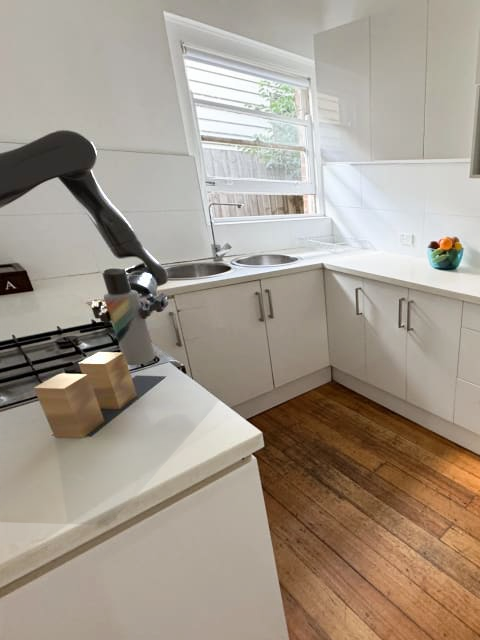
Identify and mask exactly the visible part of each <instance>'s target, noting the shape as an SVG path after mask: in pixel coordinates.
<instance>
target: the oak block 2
mask: <svg viewBox="0 0 480 640" xmlns="http://www.w3.org/2000/svg"><path fill="white" fill-rule="evenodd" d="M78 366H79V369H80V372H81V374H88V376H89V379H90V382H91V385H92V388H93V390H94V393H95V396H96V399H97V401H98V404H99V407H100V409H121V408H122V407H123V406H125V405H126V404H127V403H128V402H130V401H131V400H132V399H134V398H135V397H136V396H137V394H136V391H135V387H134V384H133V381H132V378H133V377H132V375H131V371H130V368H129V365H128V364H127V361H126V358H125V355H124V353H121V352H118V351H117V352H114V351H113V352H112V351H97V352H95V353H94V354H92V355H91V356H88V357H86V358H85V359H83V360H82V361H79V362H78Z"/></svg>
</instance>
